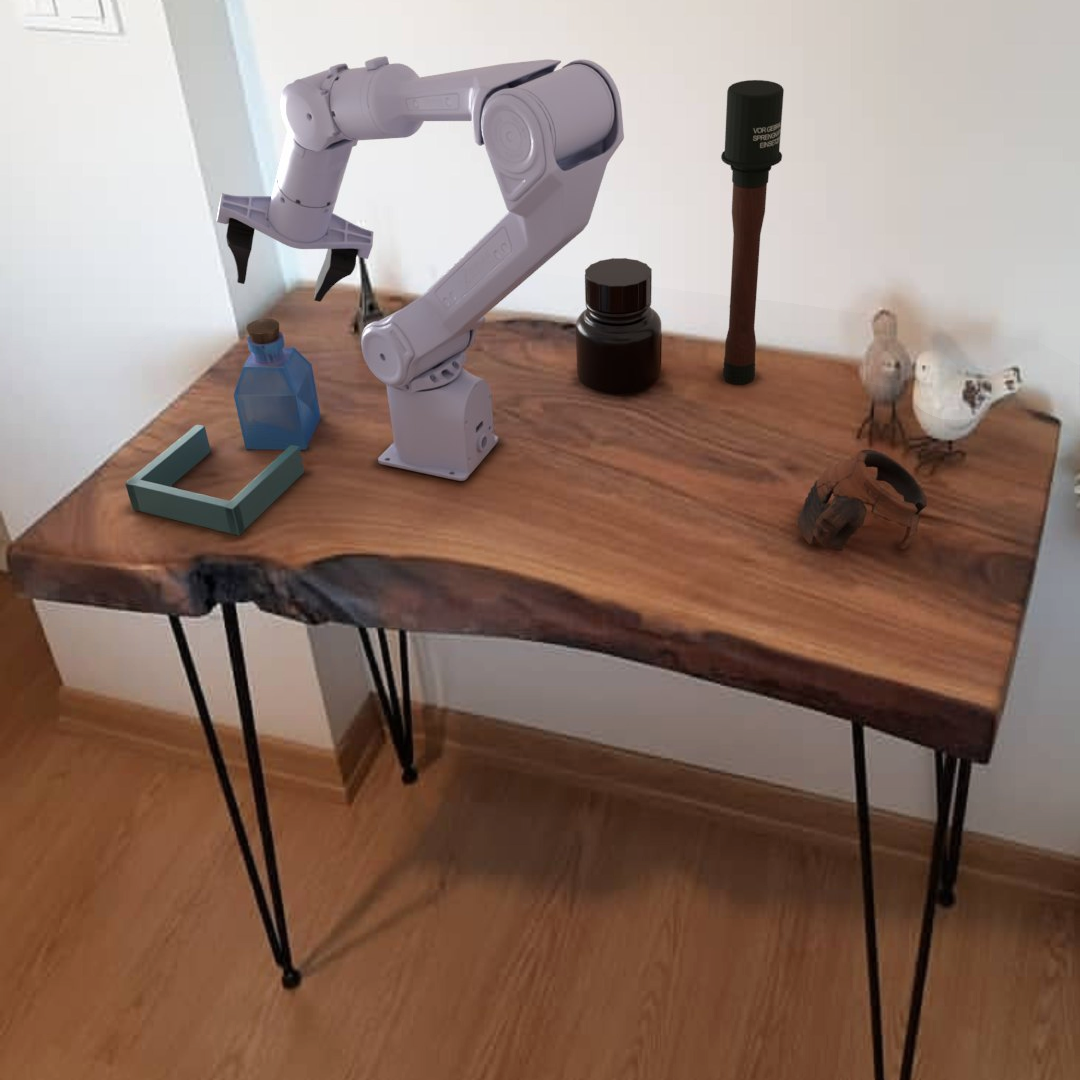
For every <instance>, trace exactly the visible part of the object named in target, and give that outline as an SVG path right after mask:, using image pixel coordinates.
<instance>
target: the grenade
mask: <svg viewBox="0 0 1080 1080" xmlns="http://www.w3.org/2000/svg"><path fill="white" fill-rule="evenodd" d="M726 91H727V92H726V109H725V110H726V111H725V112H726V113H725V116H726V117H725V134H724V135H725V136H724V150H723V151H722V152H721V154H720V155H721V156H720V157H721V158H720V159H721V161H722V162H723V163H724V164H726V165H728V166H730V170H731V171H732V173H731V175H732V177H731V182H732V200H731V217H732V218H731V221H732V229H733V230H732V232H733V239H732V240H733V241H732V260H731V276H730V278H731V280H730V297H729V318H728V319H729V320H728V330H727V333H726V338H725V342H724V358H723V367H722V377H723V380H725V382H727V383H730V384H732V385H747V384H750V383H751V382H752V381H754V380H755V376H756V348H757V339H756V332H755V322H756V310H757V309H756V308H757V306H756V305H757V292H758V277H759V263H760V262H759V261H760V249H761V248H760V247H761V233H762V229H763V224H764V219H765V215H766V205H767V204H766V202H767V190H768V189H767V187H768V183H769V176H770V171H771V170H772V167H773V166H775V165H778V164H780V162H781V161H782V159H783V153H782V152H781V151H780V147H781V134H782V132H781V131H782V119H783V107H784V106H783V105H784V94H785V93H784V91H785V90H784V87H783V86H782V85H781V84H780V83H777V82H775V81H769V80H764V79H749V80H742V81H737V82H735V83H732V84H731V85H729V87H728V88H727V90H726Z"/></svg>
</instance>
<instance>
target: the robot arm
mask: <svg viewBox="0 0 1080 1080" xmlns="http://www.w3.org/2000/svg"><path fill="white" fill-rule="evenodd" d="M561 63H562V61H561V60H559V59H538V60H537V59H536V60H529V61H528V60H527V61H519V62H517V61H516V62H509V63H500V64H494V65H487V66H482V67H475V68H469V69H464V70H463V69H462V70H458V71H457V70H456V71H452V72H451V71H450V72H445V73H439V74H432V75H427V76H419V74H418V73H417V72H416V71H415V70H414V69H412V68H411V67H410V66H408V65H406V64H403V63H400V62H399V63H396V62H395V63H390V62H389V57H388V56H377V57H374V58H372V59H371V58H370V59H368V60H365V62H364V66H363V67H355V68H349V66H348V64H347V63H338V64H335V65H332V66H330V67H329V68H328V69H326V70H323V71H320V72H317V73H314V74H311V75H308V76H305V77H303V78H299V79H298V78H297V79H295V80H294V81H293V82H291V83H288V84H287V85H286V86H285V87H284V88H283V89H282V92H281V95H280V103H279V105H280V113H281V118H282V121H283V123H284V126H285V128H286V130H287V133H286V137H285V141H284V144H283V148H282V153H281V158H280V161H279V166H278V169H277V174H276V178H275V182H274V186H273V190H272V194H271V195H233V194H227V193H221V194H220V200H219V205H218V209H217V210H218V211H217V215H216V223H219V224H223V225H227V229H226V235H225V238H226V244H227V247H228V248H229V249H230V251H231V253H232V256H233V259H234V262H235V265H236V273H237V279H236V282H237V284H240V285H241V284H242V285H245V282H246V279H247V271H248V265H249V259H250V256H251V252H252V249H253V241H254V236H255V230H256V231H258V232H259V233H261V234H263V235H265V236H267V237H269V238H271V239H273V240H275V241H277V242H279V243H281V244H282V245H285V246H287V247H290V248H293V249H297V250H326V253H325V254H326V255H325V258H324V260H323V264H322V266H321V269H320V270H319V273H318V276H317V280H316V283H315V288H314V299H313V301H315V302H319V303H320V302H322V300H323V299H324V297H325V296H326V294H327V293H328V292H329V291H330V290H331V289H332V288H333V286H335V285H336V284H337V283H339V282H340V281H341V280H342V279H344V278H347V277H349V276H351V275H352V273H353V272H354V270H355V269H356V266H357V257H358V258H362V259H365V260H368V259H369V258H370V255H371V251H372V248H373V245H374V231H373V230H369V229H366V228H364V227H361V226H359V225H356V224H354V223H353V222H350V221H349V220H347V219H345V218H343V217H341V216H339V215H337V214H336V213H334V211H335V206H336V203H337V200H338V197H339V193H340V189H341V186H342V183H343V179H344V176H345V173H346V170H347V167H348V163H349V160H350V157H351V153H352V150H353V147H357V145H358V141H371V140H385V139H386V140H389V139H401V138H403V139H405V138H409V137H412V136H413V135H415V134H416V133H417V132H418V131H419V130H420V129H421V127H422V126H423V125H424V122H471V128H472V134H473V138H474V141H475V143H476V145H478V146H479V147H480V146H484V148H485V150H486V153H487V157H488V159H489V162H490V165H491V168H492V171H493V173H494V177H495V179H496V181H497V184H498V188H499V190H500V193H501V196H502V198H503V201H504V204H505V208H506V210H507V211H508V212H507V213H505V215H503V217H502V218H501V219H499V221H497V222H496V224H494V225H493V226H492V227H491V228H490V229H489V230H488V231H487V232H486V233H485V234H484V235H483V236H482V237H481V238H480V239H479V240H477V242H476V243H475V244H473V246H471V248H470V249H468V250H467V252H465V253H464V254H463V255H462V256H461V257H460V258H459V259H458V260H457V261H456V262H455V263H454V264H453V265H452V266H451V267H450V268H449V269H448V270H447V271H446V272H444V273H443V275H441V276H440V277H439V278H438V279H437V280H436V281H435V282H434V283H433V284H432V285H431V286H430V287H429V288H428V289H427V290H426V291H425V292H424V293H423V294H422V295H420V296H419V297H418V298H416V299H414V300H413V301H412V302H410V303H409V304H407V305H405V306H404V307H402V308H401V309H399V310H397V311H395V312H393V313H392V314H389V315H387V316H386V317H384V318H382V319H379V320H375V321H372V322H370V323H369V324H367V325H366V326H365V327H364V328H363V330H362V333H361V337H360V345H361V352H362V357H363V359H364V362H365V365H366V366H367V367H368V369H369V371H370V372H371V373H372V374H373V375H374V377H376V378H377V379H378V380H379V381H380V382H382V383H383V384H384V385H385V386H386V387H385V388H386V393H387V402H388V408H389V416H390V425H391V430H392V438H393V442H392V443H391V444H390V445H389V446H388V447H387V449H385V451H384V452H383V453H382V454H381V455H379V457H378V458H377V463H378V464H379V465H383V466H387V467H393V468H398V469H403V470H405V471H406V470H407V471H411V472H415V473H419V474H425V475H430V476H434V477H440V478H445V479H449V480H453V481H458V482H464V481H466V480H467V479H468V478H469V477H470V475H472V473H473V472H474V471H475V469H477V467H478V466H479V465H480V464H481V463H482V462H483V460H484V459H485V458H486V457H487V455H488V454H489V453H490V452H491V451H492V450H493V448H494V447H495V446H496V445H497V443H498V442H499V436H497V435H495V423H494V413H493V399H492V390H491V386H490V384H489V383H488V381H487V380H486V379H484V378H482V377H478V376H476V375H474V374H472V373H471V372H469V371H467V370H466V369H465V368H464V367H463V366H464V364H465V363H467V356H466V354H467V353H466V351H468V350H469V349H470V348H471V347H472V346H473V344H474V343H475V341H476V336H477V332H478V329H479V328H480V326H481V325H482V324H484V323H485V322H486V320H487V319H486V318H487V317H486V315H487V314H488V313H489V312H490V311H491V310H492V309H494V308H495V307H496V306H497V305H498V304H500V303H501V302H502V301H503V300H504V299H505V298H507V296H509V295H510V294H511V293H512V292H513V291H515V290H516V289H517V288H518V287H519V286H521V284H523V283H524V282H525V281H526V280H528V279H529V278H530V277H531V276H532V275H533V274H534V273H535V272H536V271H538V270H539V269H540V268H541V267H543V266H544V265H545V264H546V263H547V262H548V261H550V260H551V259H552V258H553V257H554V256H556V254H558V253H559V252H560V251H561V250H563V248H565V246H567V245H569V243H571V242H572V240H574V239H575V238H576V237H577V236H578V235H579V234H581V233H582V232H583V231H584V230H585V228H586V227H587V226H588V225H589V222H590V220H591V217H592V214H593V210H594V207H595V204H596V201H597V197H598V195H599V192H600V188H601V185H602V183H603V182H602V181H603V179H604V175H605V172H606V169H607V165H608V163H609V162H610V160H611V158H612V157H613V155H614V154H615V153H616V151H617V150H618V148H619V147H620V146H621V144H622V142H623V141H624V139H625V133H624V123H623V122H624V121H623V120H624V119H623V109H622V102H621V96H620V92H619V90H618V86H617V84H616V83H615V81H614V79H613V77H612V75H610V73H609V72H608V71H607V70H606V69H605V68H604V67H603V66H601V65H600V64H598V63H597V62H595V61H593V60H590V59H575V60H573V61H570V62H569V63H567V64H565V65H563V66H561V68H559V69H557V70H556V68H557V67H558V66H559V65H560V64H561Z"/></svg>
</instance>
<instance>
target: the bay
mask: <svg viewBox="0 0 1080 1080" xmlns="http://www.w3.org/2000/svg"><path fill="white" fill-rule="evenodd" d="M211 452H212V450H211V446H210V442H209V437H208V434H207V430H206V426H205V425H202V424H201V425H200V424H196V425H194V426H193V427H191V428H190V429H189V430H188V431H187V432H186V433H184V434H183V435H181V437H179V438H178V439H177V440H176V441H174V442H173V444H171V445H170V446H169V447H167V448H166V449H165V450H164V451H163V452H161V453H160V454H159V455H158V456H156V457H155V458H154V459H153V460H151V461H150V462H149V463H148V464H147V465H145V466H144V467H143V468H142V469H141V470H139V471H138V472H137V473H136V474H134V475H133V476H131V477H130V478H129V479H128V480H127V481H126V482H124V483H125V484H124V485H125V488H126V491H127V494H128V498H129V501H130V505H131V508H132V510H134V511H137V512H141V513H146V514H148V515H149V514H150V515H154V516H158V517H162V518H164V519H165V518H166V519H168V520H169V519H170V520H173V521H178V522H182V523H186V524H190V525H194V526H198V527H201V528H206V529H211V530H215V531H218V532H223V533H226V534H230V535H233V536H240V535H241V534H243V533H244V532H245V531H246V529H248V528H249V526H251V525H252V524H253V523H254V521H256V520H257V519H258V518H259V517H260V516H262V514H263V513H264V512H265V511H266V510H268V508H269V507H271V505H272V504H273V503H275V502H276V501H277V500H278V498H280V497H281V496H282V495H283V494H284V493H285V492H286V491H287V490H288V489H289V488H290V487H291V486H292V485H293V484H294V483H295V482H296V481H297V480H298V479H299V478H300V477H302V475H303V474H304V473H305V467H304V462H303V458H302V457H303V456H302V453H301V450H300V447H299V446H295V445H290V446H289V447H288V448H287V449H286V450H284V451H283V452H281V453H280V454H279V455H278V456H277V457H276V458H275V459H274V460H273V461H271V463H270V464H268V465H267V466H266V467H265V468H264V469H263V470H262V471H260V473H259V474H258V475H257V476H256V477H254V478H253V480H251V481H250V482H249V483H247V485H246V486H245V487H244V488H243V489H242V490H240V491H239V492H238V493H237V494H236V495H235V496H233V498H232V499H230V500H227V499H223V498H218V497H216V496H215V497H214V496H210V495H206V494H202V493H199V492H194V491H190V490H185V489H180V488H176V487H172V486H173V485H174V484H175V483H177V482H178V481H179V480H180V479H181V478H182V477H183V476H185V475H186V474H187V473H188V472H189V471H191V470H192V469H193V468H194V467H195V466H196V465H197V464H198V463H200V462H201V461H202V460H203V459H205V458H206V457H207V456H208V455H209V454H210V453H211Z"/></svg>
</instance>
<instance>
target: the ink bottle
mask: <svg viewBox="0 0 1080 1080" xmlns="http://www.w3.org/2000/svg"><path fill="white" fill-rule="evenodd" d="M652 271H653V270H652V268H651V267H650V266H649V265H648V264H647V263H645V262H643V261H640V260H638V259H631V258H627V257H623V258H618V257H616V258H614V257H612V258H607V259H601V260H598V261H596V262H594V263H590V265H589V266H588V267H587V268H585V271H584V273H585V274H584V299H585V307H586V309H584V310H583V311H582V312H581V313H580V314H579V316H578V318H577V319H576V322H575V349H576V350H575V352H576V353H575V354H576V376H577V379H578V381H579V382H580V383H581V384H582V385H583V386H584V387H586V388H587V389H590V390H591V391H595V392H598V393H601V394H607V395H616V396H617V395H618V396H619V395H620V396H622V395H633V394H636V393H640V392H643V391H645V390H647V389H649V388H650V387H651V386H653V385H654V384H655V383H656V382H657V381H658V380H659V378H660V376H661V368H662V348H663V347H662V344H663V343H662V342H663V341H662V340H663V339H662V338H663V336H662V320H661V317H660V315H659V313H657V311H656V310H654V309H653V308H652V289H653V287H652V280H653V279H652V277H653V276H652V275H653V274H652V273H653V272H652Z"/></svg>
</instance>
